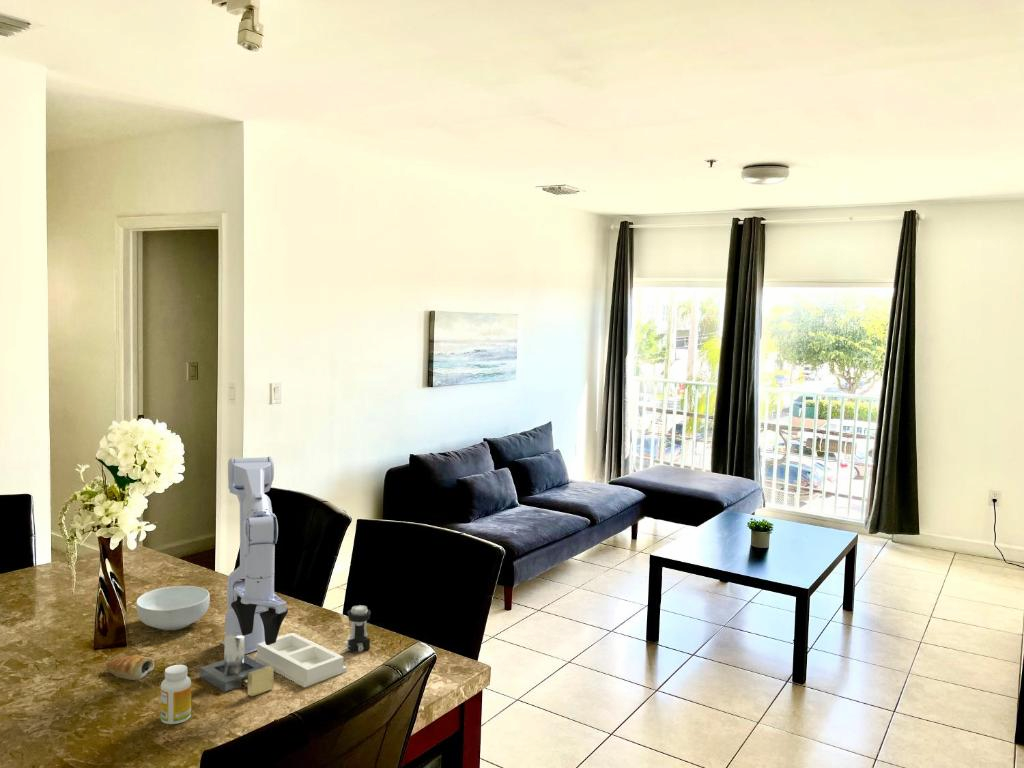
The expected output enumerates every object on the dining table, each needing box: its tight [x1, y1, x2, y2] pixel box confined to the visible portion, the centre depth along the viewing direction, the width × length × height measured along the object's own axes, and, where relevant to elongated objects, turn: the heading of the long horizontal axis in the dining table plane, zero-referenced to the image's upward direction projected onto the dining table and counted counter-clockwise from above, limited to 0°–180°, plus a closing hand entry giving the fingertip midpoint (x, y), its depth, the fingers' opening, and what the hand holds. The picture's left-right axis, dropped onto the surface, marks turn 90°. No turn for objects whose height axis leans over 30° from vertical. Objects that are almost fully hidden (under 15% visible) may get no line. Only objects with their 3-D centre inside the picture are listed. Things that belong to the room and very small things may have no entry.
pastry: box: [106, 654, 155, 681], centre depth 173 cm, size 9×7×4 cm
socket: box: [199, 654, 266, 693], centre depth 172 cm, size 10×10×2 cm
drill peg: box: [223, 632, 245, 676], centre depth 172 cm, size 4×4×9 cm
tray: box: [253, 632, 348, 688], centre depth 179 cm, size 19×11×4 cm, turn 50°
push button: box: [341, 604, 372, 653], centre depth 188 cm, size 7×5×10 cm
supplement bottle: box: [160, 664, 192, 725], centre depth 154 cm, size 5×5×10 cm
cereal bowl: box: [135, 585, 211, 631], centre depth 199 cm, size 17×17×7 cm
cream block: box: [241, 665, 275, 697], centre depth 168 cm, size 8×5×4 cm, turn 50°
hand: (258, 638), depth 167 cm, fingers open, 7 cm apart
